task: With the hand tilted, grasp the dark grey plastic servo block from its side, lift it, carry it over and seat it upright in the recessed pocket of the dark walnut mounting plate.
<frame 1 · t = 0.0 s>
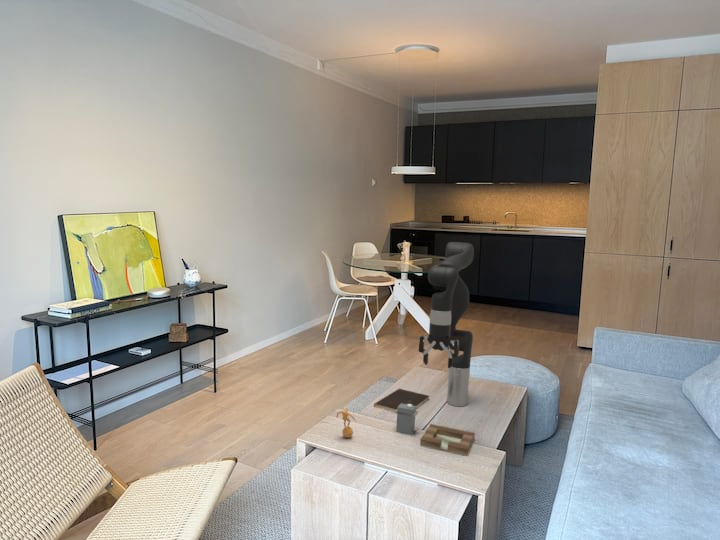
hand: (437, 365, 186), 29 cm above the table, tool pointing down, fingers open, 8 cm apart
hardcover book: (402, 404, 228), on the table
walnut plate: (447, 442, 190), on the table
figurine: (346, 438, 190), on the table
servo block: (405, 431, 198), on the table
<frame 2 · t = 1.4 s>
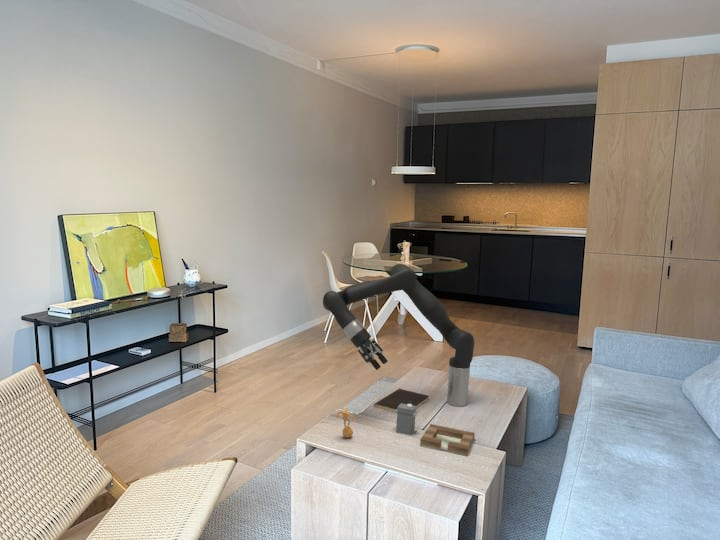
hand: (382, 365, 201), 24 cm above the table, tool tilted 45°, fingers open, 8 cm apart
nothing on the table moved.
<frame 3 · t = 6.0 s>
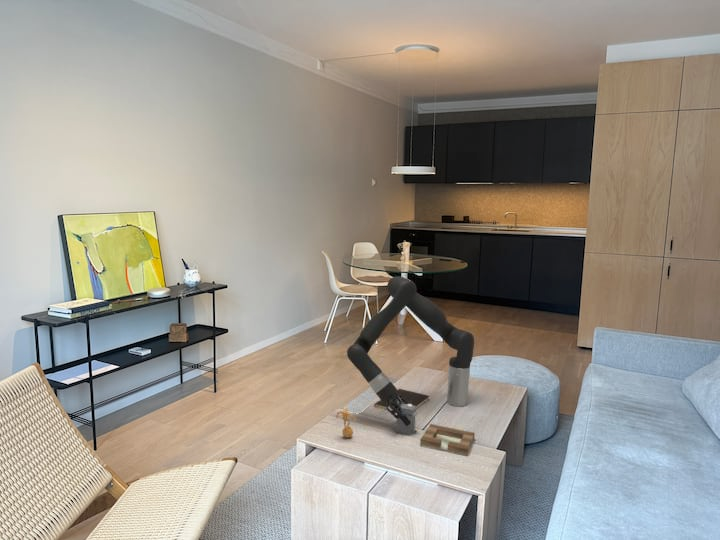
hand: (410, 422, 197), 4 cm above the table, tool tilted 45°, fingers closed on servo block, 4 cm apart
servo block: (405, 431, 198), on the table, touching gripper
everything else where it was.
when the fingers open (5 cm above the table, at t = 12.4 s): servo block stays where it is, resting on walnut plate.
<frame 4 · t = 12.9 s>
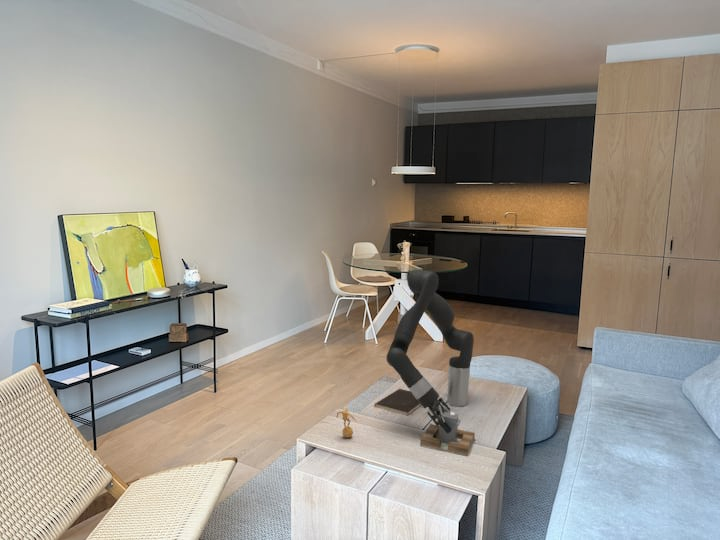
hand: (452, 427, 189), 6 cm above the table, tool tilted 45°, fingers open, 8 cm apart
servo block: (447, 440, 190), point 1 cm above the table, touching walnut plate
everything else where it was.
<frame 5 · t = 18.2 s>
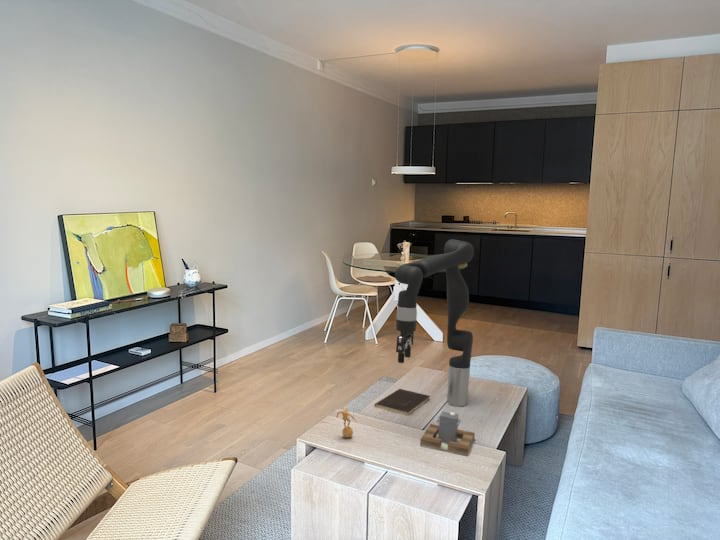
hand: (404, 359, 196), 28 cm above the table, tool pointing down, fingers open, 8 cm apart
nothing on the table moved.
at the end: servo block inside the target area on the walnut plate (0.1 cm from its centre), point 0.6 cm above the walnut plate's base; servo block tilted 0°; the gripper is holding nothing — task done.
